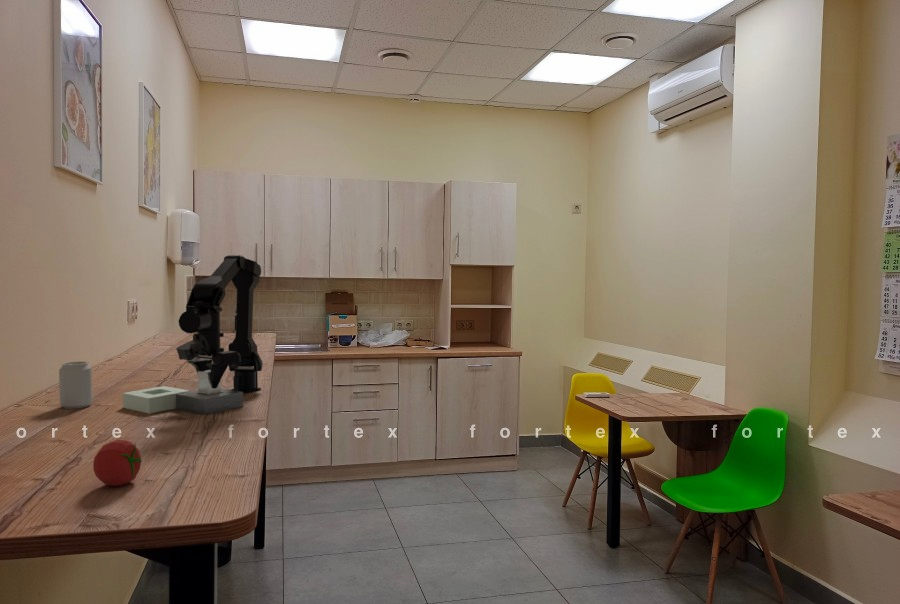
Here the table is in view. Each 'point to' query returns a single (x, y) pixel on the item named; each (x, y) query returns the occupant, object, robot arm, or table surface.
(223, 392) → the mount
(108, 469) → the tomato
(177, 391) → the dock
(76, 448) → the table surface
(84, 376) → the can
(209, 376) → the pin
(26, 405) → the table surface
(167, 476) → the table surface
